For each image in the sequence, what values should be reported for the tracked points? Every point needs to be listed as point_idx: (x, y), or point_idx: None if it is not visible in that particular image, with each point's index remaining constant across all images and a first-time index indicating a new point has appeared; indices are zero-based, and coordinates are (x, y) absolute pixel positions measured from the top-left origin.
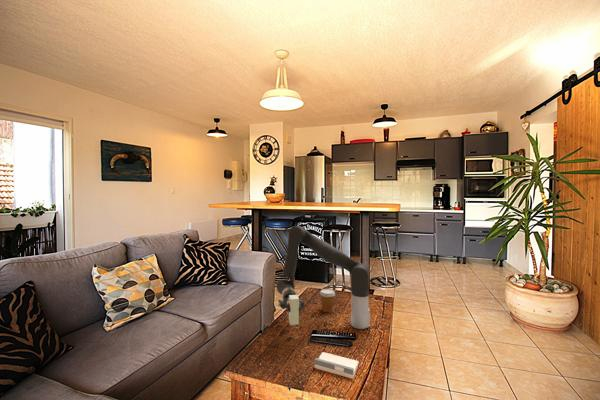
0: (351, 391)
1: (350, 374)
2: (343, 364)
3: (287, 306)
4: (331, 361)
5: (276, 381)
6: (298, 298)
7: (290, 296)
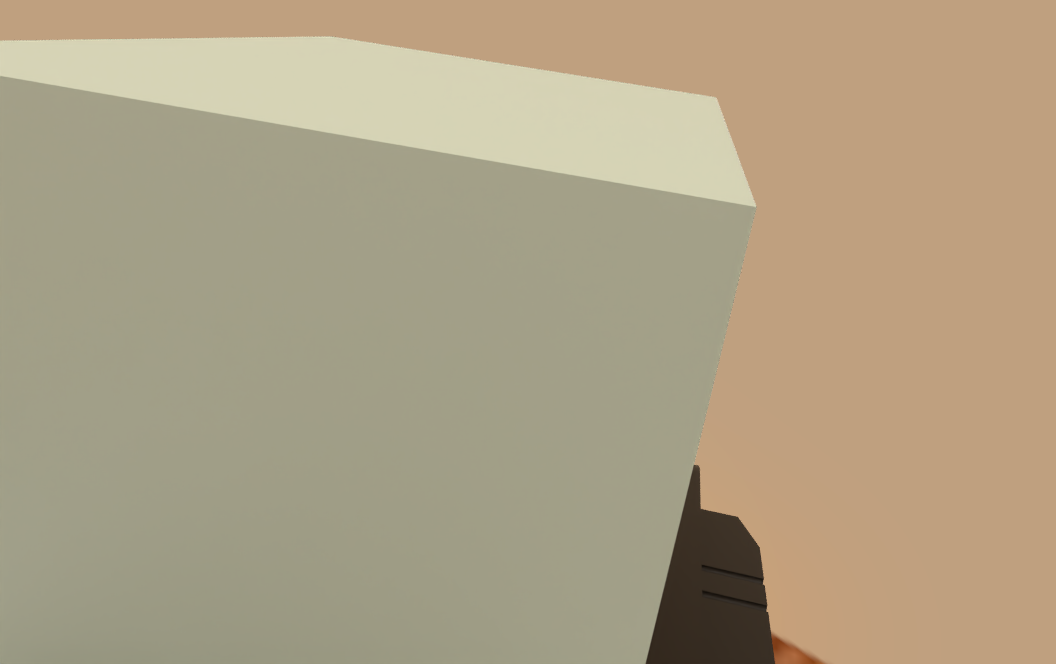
0: None
1: None
2: None
3: (736, 646)
4: None
5: (776, 644)
6: (326, 38)
7: (649, 132)
